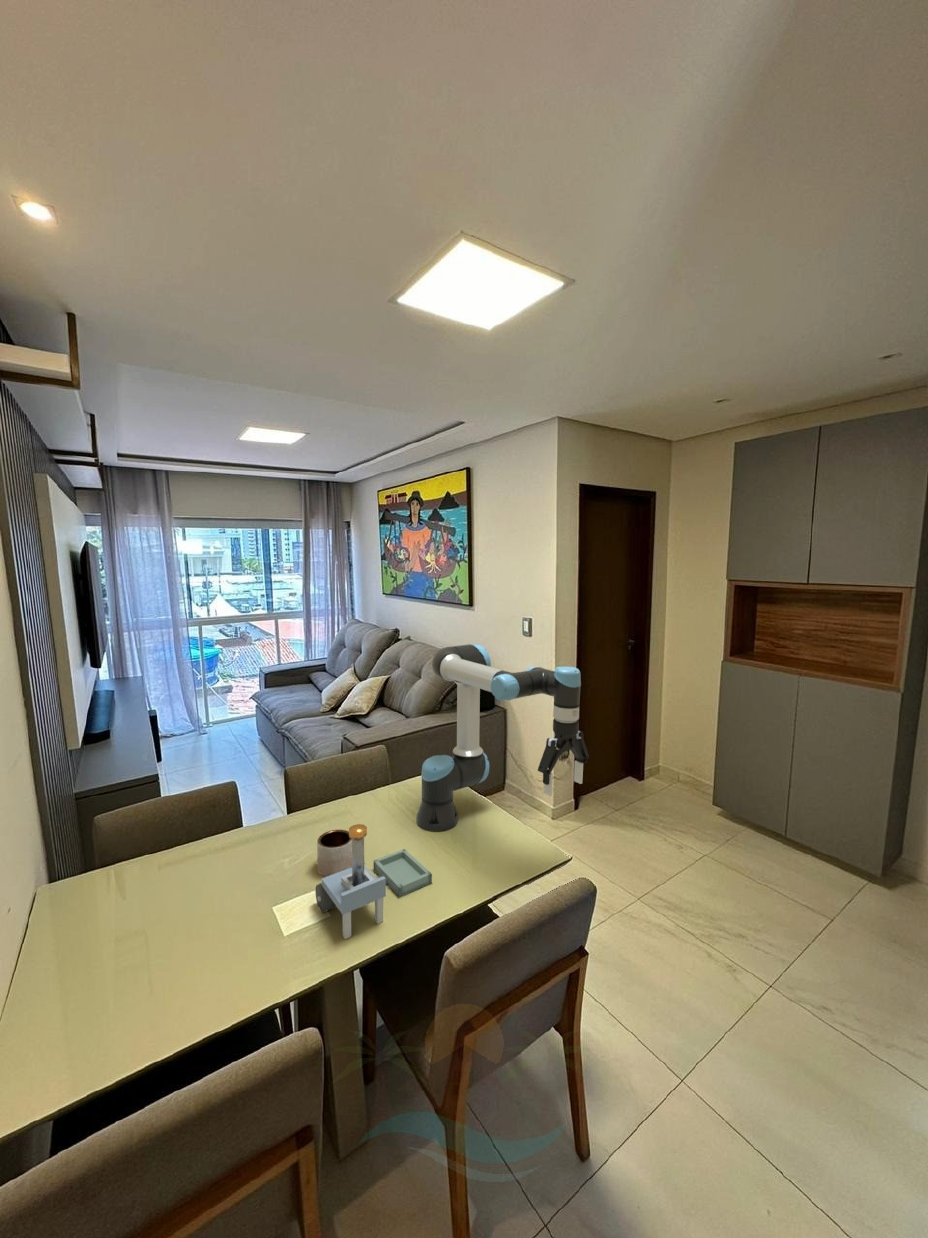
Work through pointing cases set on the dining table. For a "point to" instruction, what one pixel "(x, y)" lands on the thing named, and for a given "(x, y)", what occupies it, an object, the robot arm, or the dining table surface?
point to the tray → (402, 872)
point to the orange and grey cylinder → (357, 852)
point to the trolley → (351, 895)
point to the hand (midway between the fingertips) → (563, 788)
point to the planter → (334, 852)
